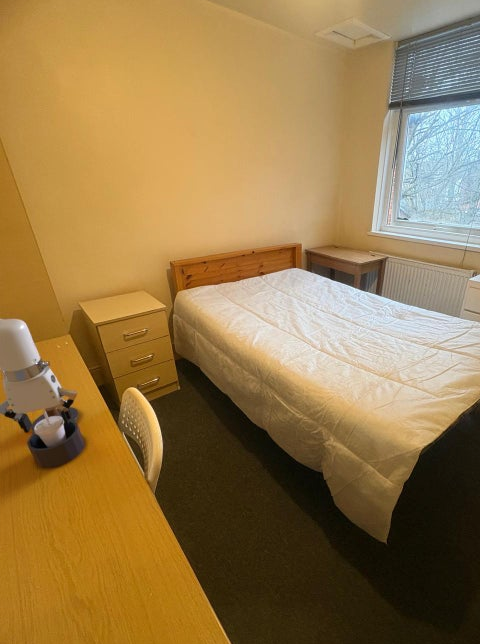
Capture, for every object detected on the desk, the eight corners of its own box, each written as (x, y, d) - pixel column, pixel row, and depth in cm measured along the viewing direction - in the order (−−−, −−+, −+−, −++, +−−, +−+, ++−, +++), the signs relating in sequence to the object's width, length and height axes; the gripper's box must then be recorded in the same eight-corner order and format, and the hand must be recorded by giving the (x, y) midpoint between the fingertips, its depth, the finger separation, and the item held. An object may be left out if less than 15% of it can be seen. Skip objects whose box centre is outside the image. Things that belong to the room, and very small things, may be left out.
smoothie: (57, 462, 85) (38, 422, 79) (40, 455, 87) (20, 415, 81) (79, 445, 91) (63, 406, 84) (63, 439, 93) (46, 400, 86)
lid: (27, 441, 92) (19, 426, 90) (38, 415, 102) (32, 401, 99) (75, 430, 96) (69, 415, 94) (82, 406, 106) (77, 392, 104)
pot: (30, 473, 83) (21, 455, 80) (42, 443, 92) (34, 425, 89) (81, 460, 86) (73, 442, 84) (87, 432, 96) (81, 415, 93)
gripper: (69, 355, 83) (88, 408, 91) (-16, 368, 77) (13, 424, 85) (63, 370, 77) (84, 425, 85) (-30, 386, 70) (2, 444, 78)
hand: (48, 424), depth 85 cm, fingers open, 8 cm apart
